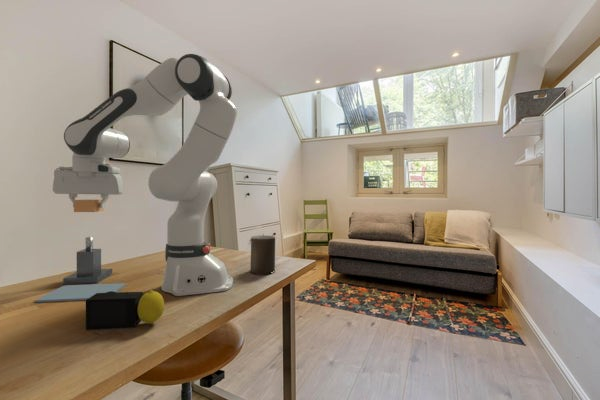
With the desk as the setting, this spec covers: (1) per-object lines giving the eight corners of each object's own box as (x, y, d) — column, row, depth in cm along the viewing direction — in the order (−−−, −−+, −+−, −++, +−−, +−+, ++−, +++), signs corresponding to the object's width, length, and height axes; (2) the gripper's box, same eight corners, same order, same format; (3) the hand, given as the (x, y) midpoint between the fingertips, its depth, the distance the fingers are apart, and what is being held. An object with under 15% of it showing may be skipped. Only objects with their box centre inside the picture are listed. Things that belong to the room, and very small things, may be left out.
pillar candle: (273, 275, 104) (274, 235, 103) (247, 274, 104) (248, 235, 104) (275, 268, 113) (276, 232, 113) (252, 267, 114) (253, 231, 113)
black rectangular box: (145, 317, 68) (145, 289, 68) (135, 328, 62) (135, 297, 62) (99, 319, 66) (99, 290, 66) (85, 330, 61) (85, 299, 61)
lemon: (152, 331, 61) (152, 295, 61) (131, 328, 62) (131, 293, 62) (169, 319, 66) (169, 287, 66) (149, 317, 68) (149, 285, 67)
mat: (126, 284, 90) (126, 283, 90) (107, 299, 78) (107, 297, 78) (64, 287, 86) (64, 285, 86) (34, 302, 75) (34, 300, 75)
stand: (112, 274, 101) (112, 235, 100) (97, 283, 91) (97, 239, 90) (81, 275, 99) (81, 235, 98) (63, 284, 89) (63, 240, 89)
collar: (103, 210, 98) (103, 199, 98) (94, 212, 92) (94, 200, 92) (84, 210, 97) (84, 199, 96) (73, 212, 91) (73, 200, 91)
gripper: (47, 165, 89) (47, 208, 89) (116, 167, 92) (117, 208, 93) (60, 167, 95) (61, 206, 95) (125, 169, 99) (125, 207, 99)
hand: (89, 207), depth 94 cm, fingers closed on collar, 6 cm apart
